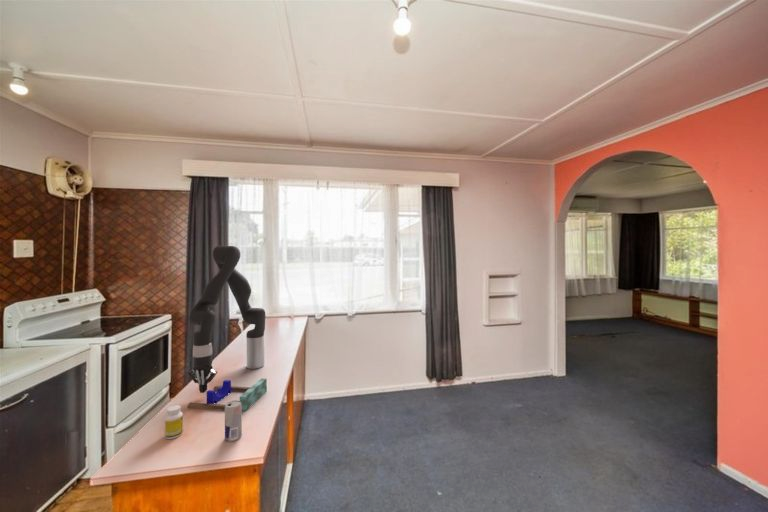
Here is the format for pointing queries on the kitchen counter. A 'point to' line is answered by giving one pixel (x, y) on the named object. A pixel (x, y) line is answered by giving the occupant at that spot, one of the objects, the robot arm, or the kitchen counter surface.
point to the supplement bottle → (173, 422)
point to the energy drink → (233, 421)
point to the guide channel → (246, 398)
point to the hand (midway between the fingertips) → (203, 392)
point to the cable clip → (219, 392)
